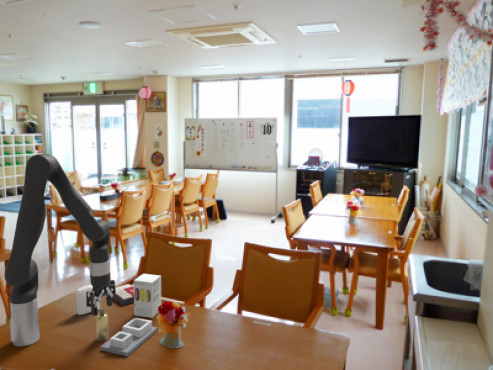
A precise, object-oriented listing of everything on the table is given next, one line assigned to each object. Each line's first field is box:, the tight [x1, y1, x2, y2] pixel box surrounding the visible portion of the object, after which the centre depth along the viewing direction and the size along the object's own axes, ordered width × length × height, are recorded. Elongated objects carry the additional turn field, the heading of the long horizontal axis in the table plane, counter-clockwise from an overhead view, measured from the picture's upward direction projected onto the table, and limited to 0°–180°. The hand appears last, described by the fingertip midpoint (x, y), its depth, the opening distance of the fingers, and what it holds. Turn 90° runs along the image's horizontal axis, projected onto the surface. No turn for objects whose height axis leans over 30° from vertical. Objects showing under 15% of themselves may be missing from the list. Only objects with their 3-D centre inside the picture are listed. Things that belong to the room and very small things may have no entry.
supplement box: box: [133, 273, 162, 319], centre depth 177 cm, size 10×9×17 cm
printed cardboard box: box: [112, 283, 134, 306], centre depth 194 cm, size 11×4×15 cm
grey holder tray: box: [100, 317, 158, 357], centre depth 155 cm, size 12×20×4 cm, turn 161°
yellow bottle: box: [95, 309, 110, 342], centre depth 155 cm, size 4×4×12 cm
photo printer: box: [76, 284, 101, 316], centre depth 178 cm, size 10×4×12 cm, turn 134°
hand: (102, 310), depth 154 cm, fingers open, 8 cm apart
